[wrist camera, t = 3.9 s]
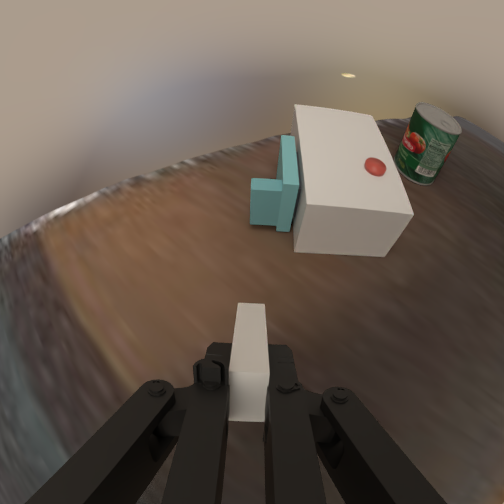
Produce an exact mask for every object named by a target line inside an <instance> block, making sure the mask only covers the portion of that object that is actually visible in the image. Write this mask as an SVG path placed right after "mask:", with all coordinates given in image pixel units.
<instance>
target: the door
mask: <svg viewBox="0 0 504 504" xmlns="http://www.w3.org/2000/svg"><path fill="white" fill-rule="evenodd" d="M298 189H299V177H298V166H297V156H296V146H295V137H294V136H285V135H281V142H280V151H279V159H278V168H277V177H276V179H259V178H252V180H251V202H250V224H254V225H273V226H276V231H284V232H289V231H290V227H291V222H292V218H293V213H294V208H295V203H296V199H297V194H298Z"/></svg>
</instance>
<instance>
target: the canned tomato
mask: <svg viewBox="0 0 504 504" xmlns="http://www.w3.org/2000/svg"><path fill="white" fill-rule="evenodd" d="M461 131H462V130H461V127H460V125H459V124H458V122H457V121H456V120H455V119H454V118H453V117H452V116H450V115H449V114H448V113H446V112H445V111H443V110H441V109H440V108H438V107H436V106H434V105H431V104H428V103H424V102H419V103H417V104H416V107H415V110H414V112H413V115H412V117H411V120H410V122H409V125H408V127H407V129H406V132H405V134H404V137H403V139H402V141H401V144H400V146H399V148H398V150H397V153H396V155H395V156H394V164H395V166H396V168H397V169H398V171H399V172H400V173H401V174H402V175H403V176H404V177H406V178H407V179H408V180H410V181H412V182H414V183H416V184H419V185H425V186H426V185H430V184H432V183H433V182H434V180H435V178H436V176H437V175H438V173H439V171H440V169H441V168H442V166H443V164H444V162H445V161H446V159H447V157H448V155H449V154H450V152H451V150H452V148H453V146H454V145H455V143H456V141H457V139H458V137H459V135H460V134H461Z"/></svg>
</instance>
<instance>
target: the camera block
mask: <svg viewBox="0 0 504 504" xmlns="http://www.w3.org/2000/svg"><path fill="white" fill-rule="evenodd" d="M291 136H294V137H295V146H296V156H297V166H298V177H299V189H298V194H297V199H296V203H295V208H294V213H293V236H294V252H300V253H319V254H338V255H357V256H375V257H385V256H386V254H387V253H388V251H389V250H390V249H391V247H392V246H393V245H394V243H395V242H396V240H397V239H398V237H399V236H400V235H401V233H402V232H403V230H404V229H405V227H406V226H407V224H408V223H409V221H410V220H411V218H412V217H413V215H414V213H413V211H412V208H411V205H410V202H409V199H408V197H407V194H406V191H405V189H404V186H403V183H402V181H401V178H400V176H399V173H398V171H397V168H396V166H395V164H394V161H393V159H392V157H391V154H390V152H389V150H388V148H387V146H386V143H385V141H384V139H383V137H382V135H381V133H380V131H379V129H378V127H377V125H376V123H375V121H374V119H373V117H372V115H367V114H361V113H356V112H350V111H344V110H337V109H330V108H322V107H315V106H306V105H296V104H295V106H294V113H293V121H292V128H291Z"/></svg>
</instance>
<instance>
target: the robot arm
mask: <svg viewBox="0 0 504 504" xmlns="http://www.w3.org/2000/svg"><path fill="white" fill-rule="evenodd" d="M193 374H194V384H193V385H191V386H189V387H185V388H176V389H174V388H173V386H172V385H171V384H170V383H169V382H167V381H164V380H151V381H148V382H146V383H144V384H143V385H142V386H141V387H140V388H139V389H138V390H137V391H136V392H135V393H134V394H133V395H132V396H131V397H130V398H129V399H128V400H127V401H126V402H125V403H124V404H123V405H122V406H121V407H120V409H119V410H118V411H117V412H116V413H115V414H114V415H113V416H112V417H111V418H110V419H109V420H108V421H107V422H106V423H105V424H104V425H103V426H102V427H101V428H100V429H99V430H98V431H97V432H96V433H95V434H94V435H93V436H92V437H91V438H90V439H89V440H88V441H87V442H86V443H85V444H84V445H83V446H82V447H81V448H80V449H79V450H78V451H77V452H76V453H75V454H74V455H73V456H72V457H71V458H70V459H69V460H68V461H67V462H66V463H65V464H64V465H63V466H62V467H61V468H60V469H59V470H58V471H57V472H56V473H55V474H54V475H53V476H52V477H51V478H50V479H49V480H48V481H47V482H46V483H45V484H44V485H43V486H42V487H41V488H40V489H39V490H38V491H37V492H36V493H35V494H34V495H33V496H32V497H31V498H30V499H29V500H28V501H27V502H26V503H25V504H136V502H137V501H138V499H139V498H140V496H141V495H142V494H143V492H144V491H145V489H146V488H147V486H148V485H149V483H150V482H151V481H152V479H153V478H154V476H155V475H156V473H157V472H158V470H159V469H160V467H161V466H162V464H163V463H164V461H165V460H166V458H167V457H168V455H169V454H170V452H171V451H172V449H173V448H174V446H175V445H176V443H177V442H178V443H177V446H176V450H175V454H174V457H173V461H172V465H171V469H170V472H169V476H168V480H167V484H166V488H165V491H164V495H163V499H162V503H161V504H221V500H222V489H223V479H224V468H225V458H226V448H227V438H228V420H231V421H249V422H264V421H265V427H264V435H263V442H264V451H265V495H266V504H326V498H325V493H324V488H323V483H322V477H321V472H320V467H319V462H318V457H317V454H318V456H319V458H320V459H321V461H322V463H323V465H324V466H325V468H326V470H327V472H328V474H329V475H330V477H331V479H332V481H333V482H334V484H335V486H336V488H337V489H338V491H339V493H340V495H341V496H342V498H343V500H344V501H345V503H346V504H447V503H446V502H445V501H444V499H443V498H442V497H441V496H440V495H439V494H438V492H437V491H436V490H435V489H434V488H433V487H432V485H431V484H430V483H429V482H428V481H427V480H426V478H425V477H424V476H423V475H422V474H421V473H420V471H419V470H418V469H417V468H416V467H415V465H414V464H413V463H412V462H411V461H410V460H409V458H408V457H407V456H406V455H405V454H404V452H403V451H402V450H401V449H400V448H399V447H398V445H397V444H396V443H395V442H394V441H393V439H392V438H391V437H390V436H389V435H388V433H387V432H386V431H385V430H384V429H383V427H382V426H381V425H380V424H379V423H378V421H377V420H376V419H375V418H374V417H373V415H372V414H371V413H370V412H369V411H368V409H367V408H366V407H365V406H364V405H363V403H362V402H361V401H360V400H359V399H358V397H357V396H356V395H355V394H354V393H353V392H352V391H351V390H349V389H346V388H342V387H332V388H329V389H327V390H326V391H325V392H324V393H323V395H322V394H317V393H312V392H309V391H307V390H305V389H303V386H302V384H301V383H300V382H298V379H297V374H296V369H295V364H294V359H293V354H292V350H291V349H290V348H289V347H288V346H287V345H269V344H268V342H267V329H266V316H265V304H254V303H238V307H237V315H236V322H235V329H234V336H233V344H232V343H217V342H213V343H212V344H211V345H210V346H209V347H208V348H207V352H206V355H205V359H201V360H199V361H197V362H196V363H195V364H194V365H193Z"/></svg>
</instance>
